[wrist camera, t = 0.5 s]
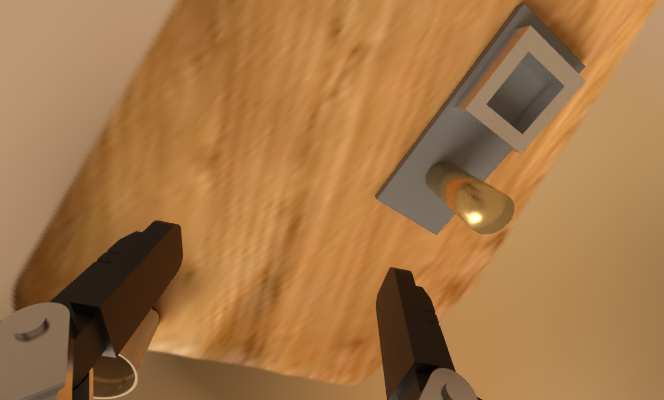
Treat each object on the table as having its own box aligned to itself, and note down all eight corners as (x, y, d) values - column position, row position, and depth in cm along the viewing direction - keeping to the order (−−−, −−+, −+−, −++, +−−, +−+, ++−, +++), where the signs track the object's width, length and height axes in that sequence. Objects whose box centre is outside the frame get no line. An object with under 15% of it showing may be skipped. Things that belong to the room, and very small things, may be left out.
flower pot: (89, 295, 38) (30, 352, 30) (157, 285, 38) (116, 339, 30) (119, 342, 41) (74, 404, 34) (181, 333, 42) (150, 392, 34)
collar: (506, 148, 32) (520, 153, 30) (453, 106, 30) (465, 109, 27) (564, 81, 29) (586, 81, 27) (512, 29, 27) (530, 25, 25)
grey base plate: (433, 231, 37) (436, 235, 36) (375, 196, 34) (376, 199, 34) (577, 66, 30) (585, 66, 29) (517, 6, 27) (524, 3, 26)
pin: (428, 161, 32) (474, 193, 23) (461, 160, 32) (519, 192, 23) (423, 192, 34) (464, 234, 25) (454, 192, 34) (507, 233, 25)
